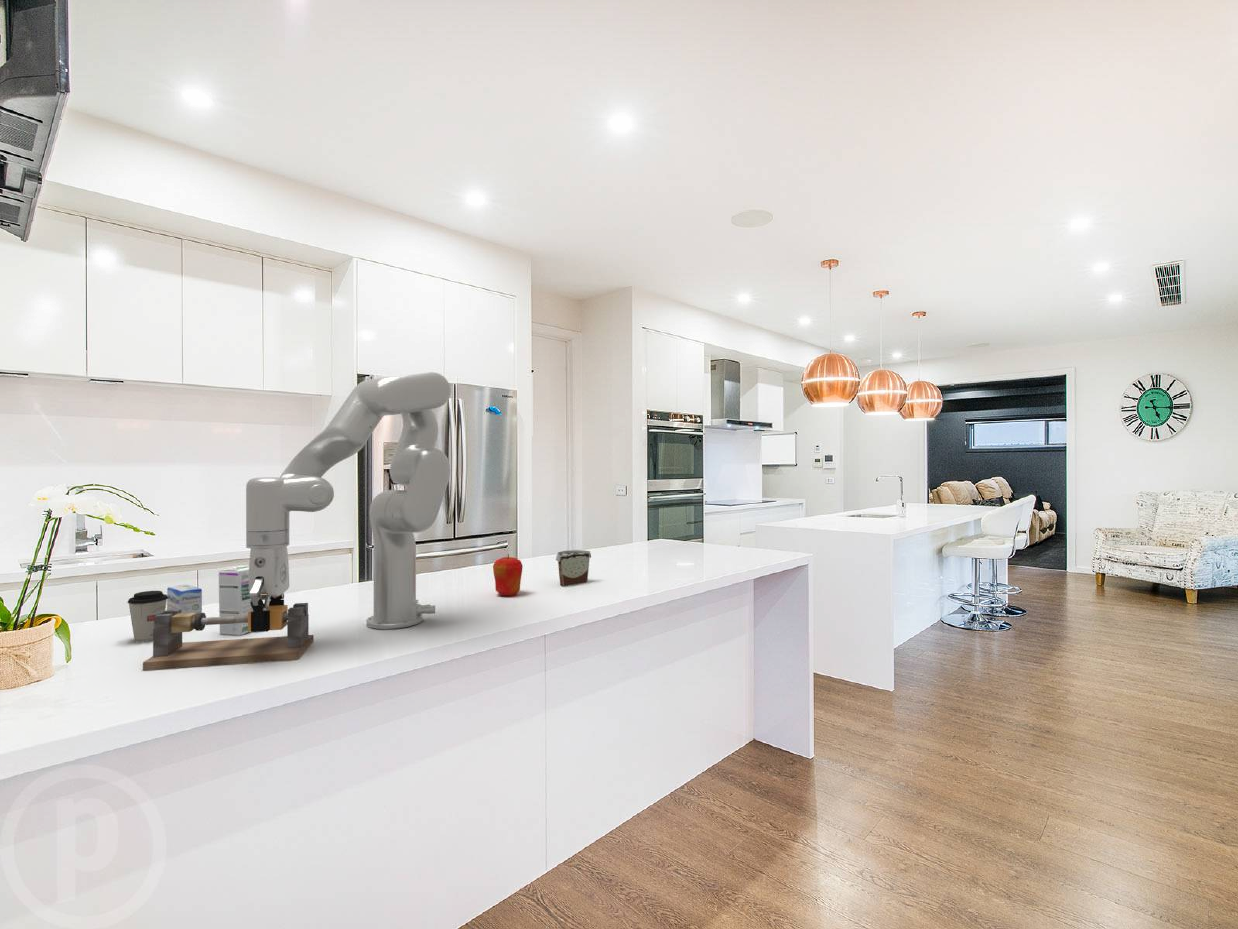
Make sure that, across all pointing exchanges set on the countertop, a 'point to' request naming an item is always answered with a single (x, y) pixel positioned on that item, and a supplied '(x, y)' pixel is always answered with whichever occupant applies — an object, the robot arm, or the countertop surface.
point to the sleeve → (273, 617)
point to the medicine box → (184, 598)
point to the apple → (507, 575)
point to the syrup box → (234, 598)
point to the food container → (573, 567)
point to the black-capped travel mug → (146, 613)
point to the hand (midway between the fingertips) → (268, 624)
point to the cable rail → (224, 641)
